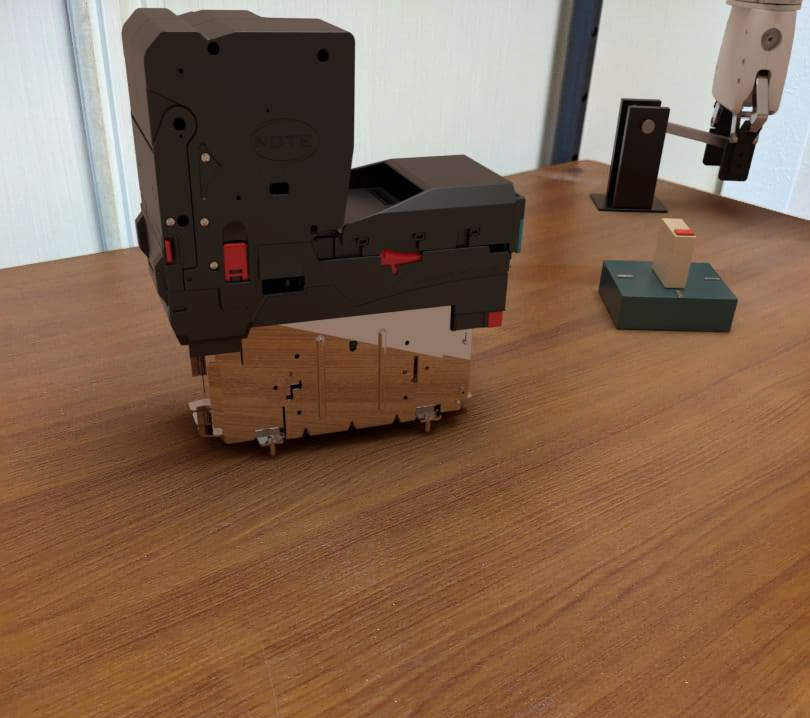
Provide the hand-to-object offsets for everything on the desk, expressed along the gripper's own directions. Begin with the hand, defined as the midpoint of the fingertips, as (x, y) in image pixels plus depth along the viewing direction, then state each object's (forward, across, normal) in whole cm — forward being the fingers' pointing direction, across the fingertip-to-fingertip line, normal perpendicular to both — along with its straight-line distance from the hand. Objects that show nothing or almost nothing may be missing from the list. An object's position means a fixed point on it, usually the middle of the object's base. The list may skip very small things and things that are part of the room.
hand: (724, 171), depth 106 cm
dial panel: (+5, -30, +13) cm, 33 cm away
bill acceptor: (+5, -51, +42) cm, 66 cm away
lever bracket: (+5, 0, +10) cm, 12 cm away
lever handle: (-3, 0, +6) cm, 6 cm away
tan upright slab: (+2, -30, +13) cm, 33 cm away
